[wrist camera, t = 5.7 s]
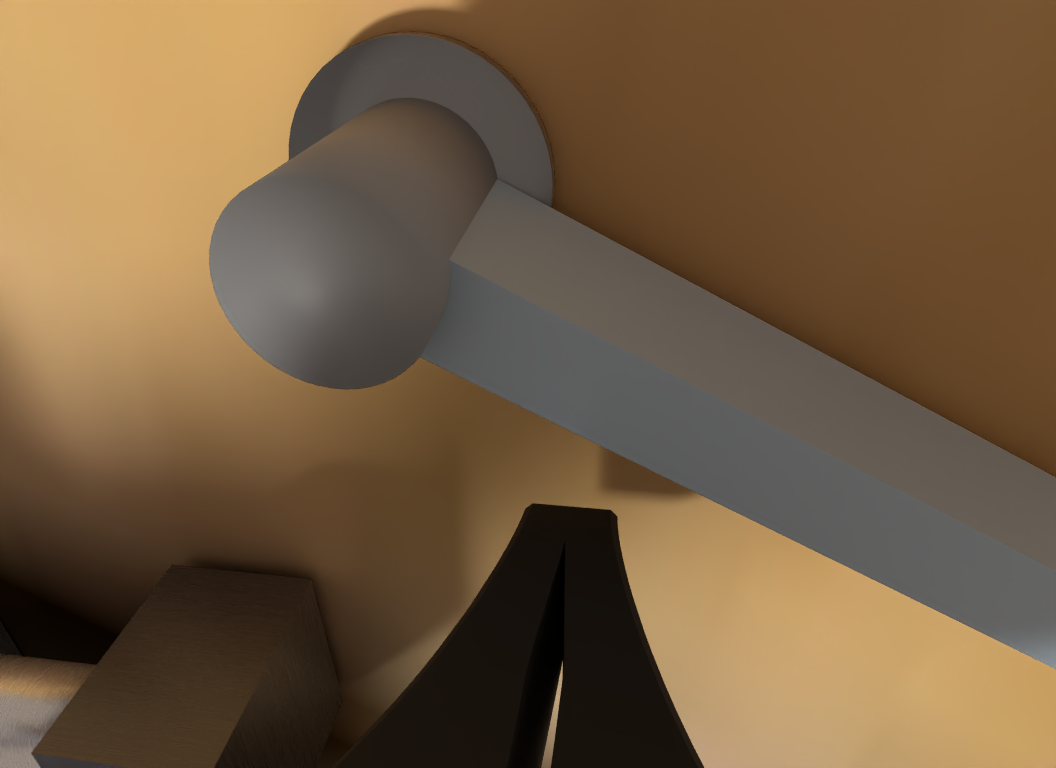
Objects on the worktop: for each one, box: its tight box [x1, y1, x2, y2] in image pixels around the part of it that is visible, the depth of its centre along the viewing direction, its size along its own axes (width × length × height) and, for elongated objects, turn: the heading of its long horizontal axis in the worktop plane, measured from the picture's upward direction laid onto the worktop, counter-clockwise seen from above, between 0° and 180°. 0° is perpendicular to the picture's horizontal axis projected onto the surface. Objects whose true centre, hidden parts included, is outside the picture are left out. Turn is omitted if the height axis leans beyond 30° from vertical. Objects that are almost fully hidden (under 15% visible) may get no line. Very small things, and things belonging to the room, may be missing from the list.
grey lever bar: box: [209, 98, 1056, 669], centre depth 9 cm, size 14×2×3 cm, turn 64°
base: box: [289, 31, 555, 208], centre depth 10 cm, size 4×4×1 cm
